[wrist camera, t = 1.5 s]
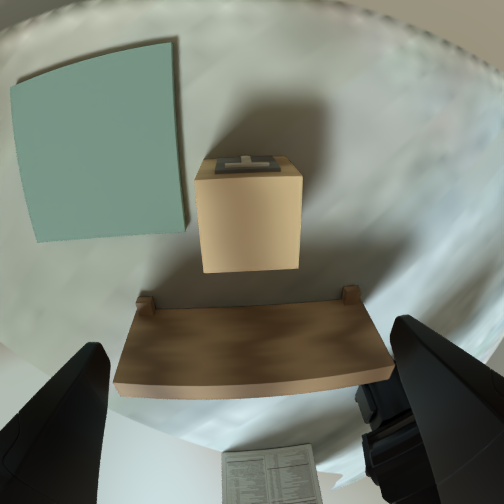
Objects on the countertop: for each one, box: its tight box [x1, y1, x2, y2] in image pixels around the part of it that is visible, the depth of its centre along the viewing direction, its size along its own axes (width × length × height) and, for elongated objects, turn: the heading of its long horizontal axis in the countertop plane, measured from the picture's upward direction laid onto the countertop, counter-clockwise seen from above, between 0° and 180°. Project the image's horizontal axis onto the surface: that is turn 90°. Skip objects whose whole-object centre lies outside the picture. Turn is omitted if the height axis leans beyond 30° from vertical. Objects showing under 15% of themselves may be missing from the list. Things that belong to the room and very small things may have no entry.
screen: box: [113, 286, 395, 400], centre depth 20 cm, size 18×4×8 cm, turn 91°
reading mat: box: [10, 42, 186, 243], centre depth 17 cm, size 12×12×1 cm
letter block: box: [194, 155, 303, 273], centre depth 17 cm, size 5×5×5 cm
